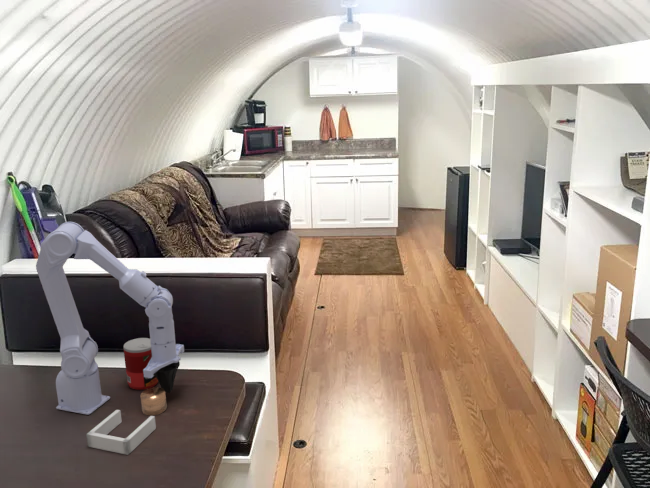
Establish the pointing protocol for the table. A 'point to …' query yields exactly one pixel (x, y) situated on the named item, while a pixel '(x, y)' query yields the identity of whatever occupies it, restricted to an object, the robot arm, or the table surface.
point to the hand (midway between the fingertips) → (167, 390)
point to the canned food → (138, 363)
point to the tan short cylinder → (153, 401)
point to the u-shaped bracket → (117, 444)
